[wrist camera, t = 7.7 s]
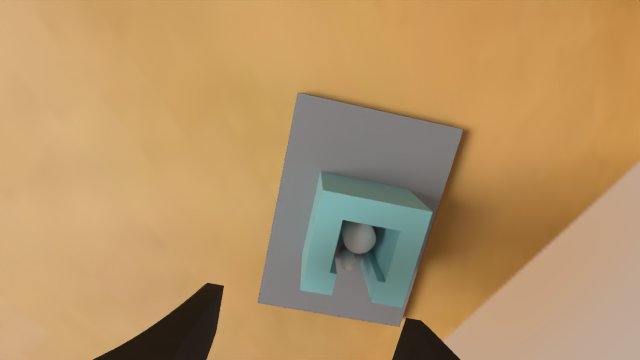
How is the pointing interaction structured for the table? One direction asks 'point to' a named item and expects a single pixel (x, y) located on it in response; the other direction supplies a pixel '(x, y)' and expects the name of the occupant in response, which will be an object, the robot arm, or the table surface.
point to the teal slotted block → (391, 234)
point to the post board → (360, 163)
